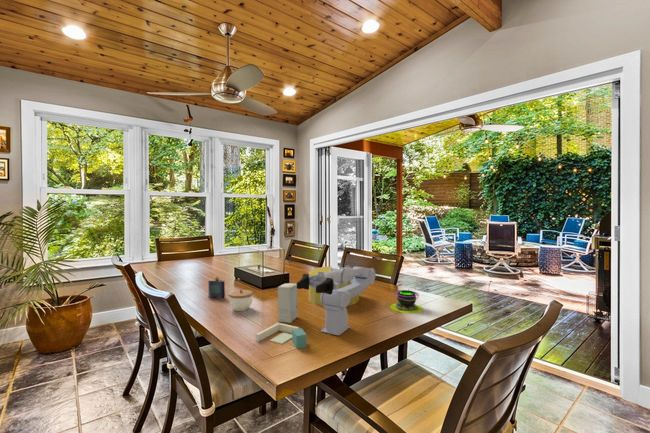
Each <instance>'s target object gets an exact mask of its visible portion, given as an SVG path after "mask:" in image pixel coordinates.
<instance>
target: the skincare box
mask: <svg viewBox="0 0 650 433" xmlns="http://www.w3.org/2000/svg"><path fill="white" fill-rule="evenodd" d="M277 305H278V306H277V316H278V317H277V320H278V323H285V324H291V323H292V322H293V321H294V320H296V318H298V316H299V313H298V312H299V311H298V310H299V309H298V289H297V283H288V282H286V283H283V284H281V285H279V286H277Z"/></svg>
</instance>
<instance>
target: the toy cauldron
mask: <svg viewBox="0 0 650 433" xmlns="http://www.w3.org/2000/svg"><path fill="white" fill-rule="evenodd" d="M411 286H412V284H411V285H410V287H411ZM405 287H406V288H407V287H408V285H407V286H405ZM414 290H416V287H413V290H410V289H406V290H405V289H402V290H401V289H400V290H398V291H394V292H393V293H394V294H395V295H396V298H397V302H396V303H392V304H391V305H390V309H391V310H392V309H393V311H394V310H395V312H397V311H398V312H397V313H403V314H417V313H418V314H419V313H421V312H423V310H424V307H422V306H421V305H418V304H416V302H417V299H418V298H419V296H420V294H419V293H418V292H417V291H414Z"/></svg>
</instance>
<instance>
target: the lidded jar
mask: <svg viewBox="0 0 650 433" xmlns="http://www.w3.org/2000/svg"><path fill="white" fill-rule="evenodd" d="M253 295H254V294H253V290H249V289H242V288H240V289H238V290H233V291H230V292H229V293H228V296H229V297H228V298H229V300H228V302H229V303H230V307H231V308H232V309H233V310H234V312H244V311H247V310H248V309H249V308H250V307H251V305H252V303H253Z"/></svg>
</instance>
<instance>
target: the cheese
mask: <svg viewBox="0 0 650 433" xmlns="http://www.w3.org/2000/svg"><path fill="white" fill-rule="evenodd" d="M331 268H333V267H332V266H322V267H317V268H313V269H311V270H310V271H309V272H308V274H309V276H314V275H318V272H319V271H321V272H324V273H326V272H329V271H330V269H331ZM350 284H351V280H350V281H348V282H347V284H346V285H345V284H339V289H340V288H343V287H345V286H348V285H350ZM333 290H334V289H333ZM320 298H321V293H316V289H314V288H313V287H311V286H310V285H309V290H308V301H309V302H310V303H312V304H314V305H317V306H322V307H324V305H322V303H321V299H320ZM359 301H360V294H359V295H357V296H355V297H353V298H351V299H350V303H349V304H348V305H347V306H346V307H349V306H353V305H355V304H358V303H359Z"/></svg>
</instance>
